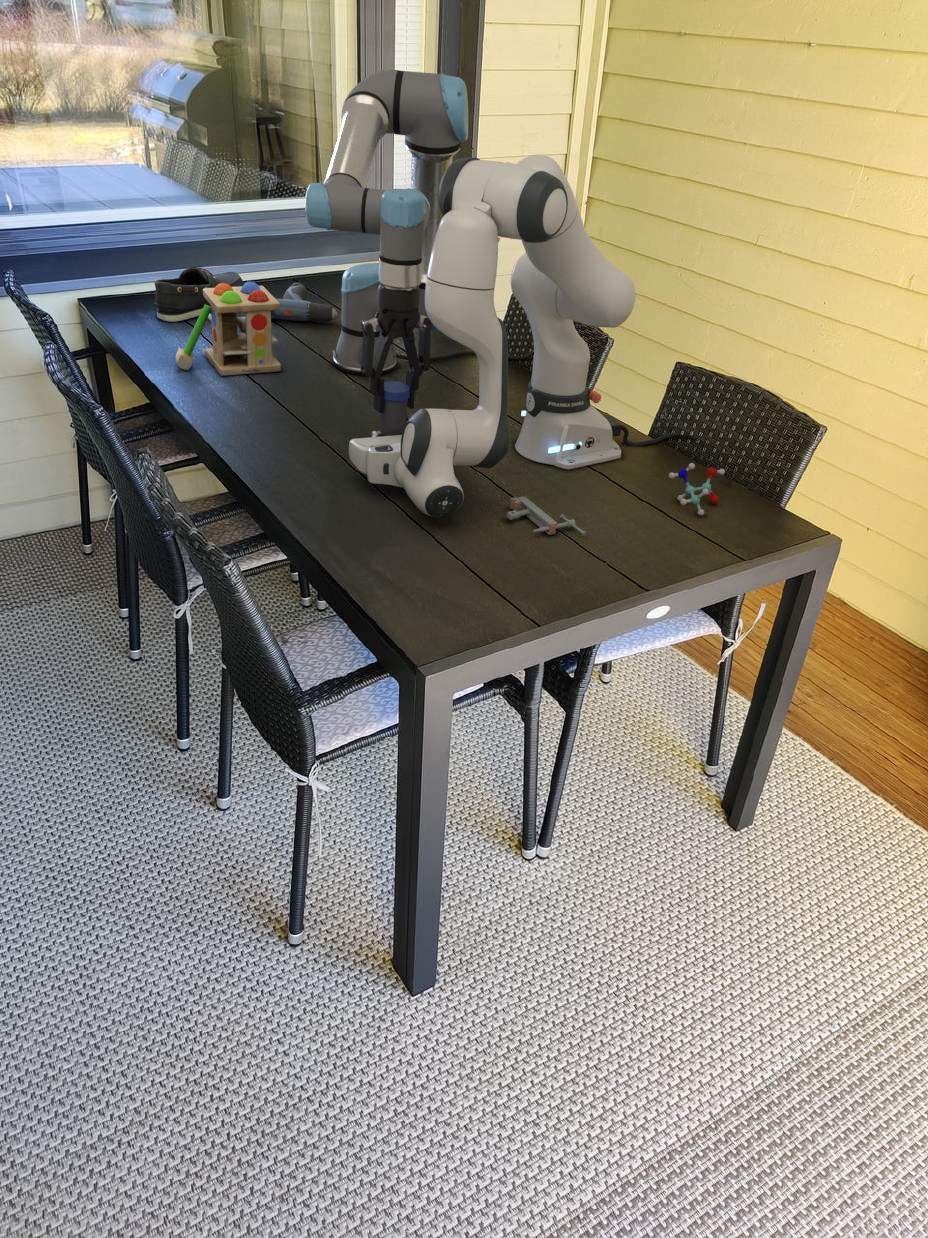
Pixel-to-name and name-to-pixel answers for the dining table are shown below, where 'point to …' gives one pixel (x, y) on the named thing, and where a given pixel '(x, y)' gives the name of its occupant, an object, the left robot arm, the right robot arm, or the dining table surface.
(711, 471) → the molecular model
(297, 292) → the power drill
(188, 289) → the boat shoe
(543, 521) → the clamp
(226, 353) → the pounding bench toy
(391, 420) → the jar
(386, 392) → the lid
